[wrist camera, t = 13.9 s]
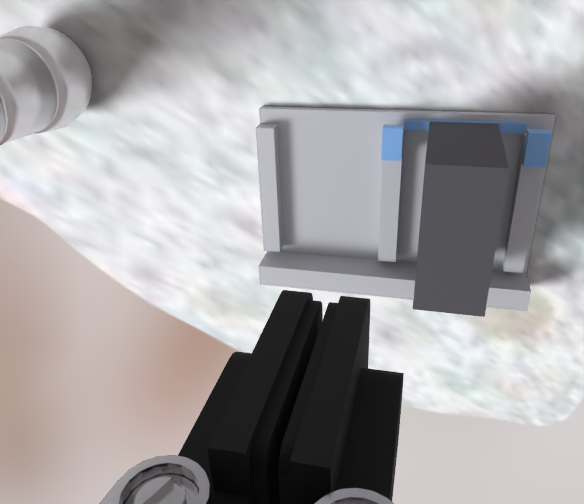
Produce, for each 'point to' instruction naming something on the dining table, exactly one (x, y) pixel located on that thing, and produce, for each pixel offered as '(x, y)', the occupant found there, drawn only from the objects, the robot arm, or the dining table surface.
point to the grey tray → (380, 198)
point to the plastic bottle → (40, 82)
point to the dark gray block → (459, 217)
